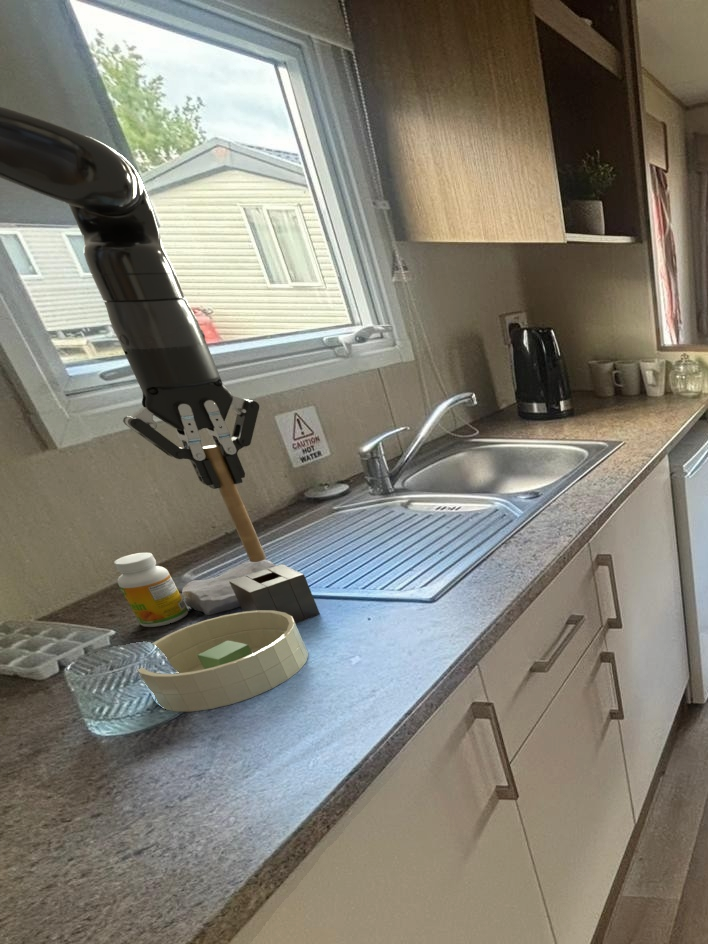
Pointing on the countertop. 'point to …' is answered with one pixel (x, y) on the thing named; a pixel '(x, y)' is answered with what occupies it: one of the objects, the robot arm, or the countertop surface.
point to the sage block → (224, 654)
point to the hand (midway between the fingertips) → (225, 484)
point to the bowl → (226, 684)
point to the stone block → (219, 589)
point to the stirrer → (235, 504)
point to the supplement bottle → (149, 590)
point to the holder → (276, 592)
